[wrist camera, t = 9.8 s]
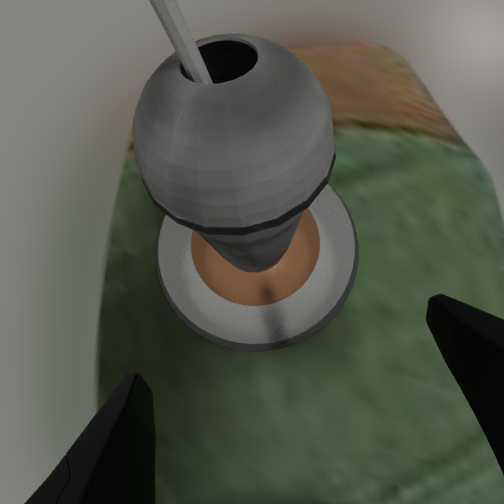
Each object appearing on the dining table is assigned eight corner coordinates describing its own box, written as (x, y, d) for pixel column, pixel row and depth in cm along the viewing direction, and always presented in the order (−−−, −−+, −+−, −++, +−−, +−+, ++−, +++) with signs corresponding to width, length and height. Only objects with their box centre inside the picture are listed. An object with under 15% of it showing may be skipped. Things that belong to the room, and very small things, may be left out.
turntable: (340, 356, 20) (343, 357, 19) (144, 322, 22) (139, 322, 21) (356, 174, 24) (358, 168, 23) (186, 154, 26) (184, 149, 25)
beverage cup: (325, 265, 21) (478, -45, 2) (226, 311, 21) (-48, 80, 2) (279, 178, 23) (273, -115, 4) (188, 218, 23) (32, -44, 4)
